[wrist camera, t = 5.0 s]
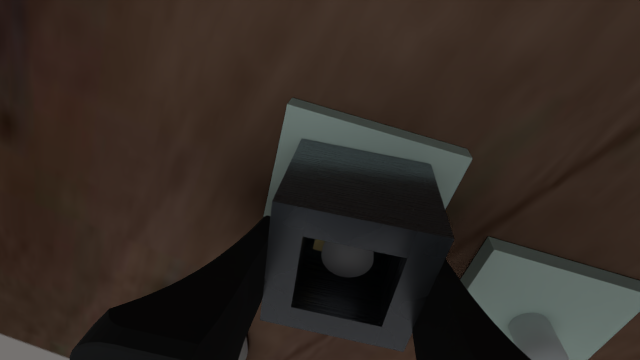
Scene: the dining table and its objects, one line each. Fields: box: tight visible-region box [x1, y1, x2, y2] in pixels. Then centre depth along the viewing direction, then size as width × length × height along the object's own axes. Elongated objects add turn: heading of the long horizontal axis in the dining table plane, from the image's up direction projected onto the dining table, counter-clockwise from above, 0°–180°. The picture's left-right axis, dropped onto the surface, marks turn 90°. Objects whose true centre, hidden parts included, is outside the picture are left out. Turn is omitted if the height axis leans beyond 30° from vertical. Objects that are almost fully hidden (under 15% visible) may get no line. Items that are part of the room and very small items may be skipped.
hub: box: [260, 139, 454, 352], centre depth 14 cm, size 6×6×5 cm
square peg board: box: [460, 237, 640, 360], centre depth 17 cm, size 8×8×4 cm
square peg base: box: [263, 98, 473, 277], centre depth 15 cm, size 8×8×4 cm
